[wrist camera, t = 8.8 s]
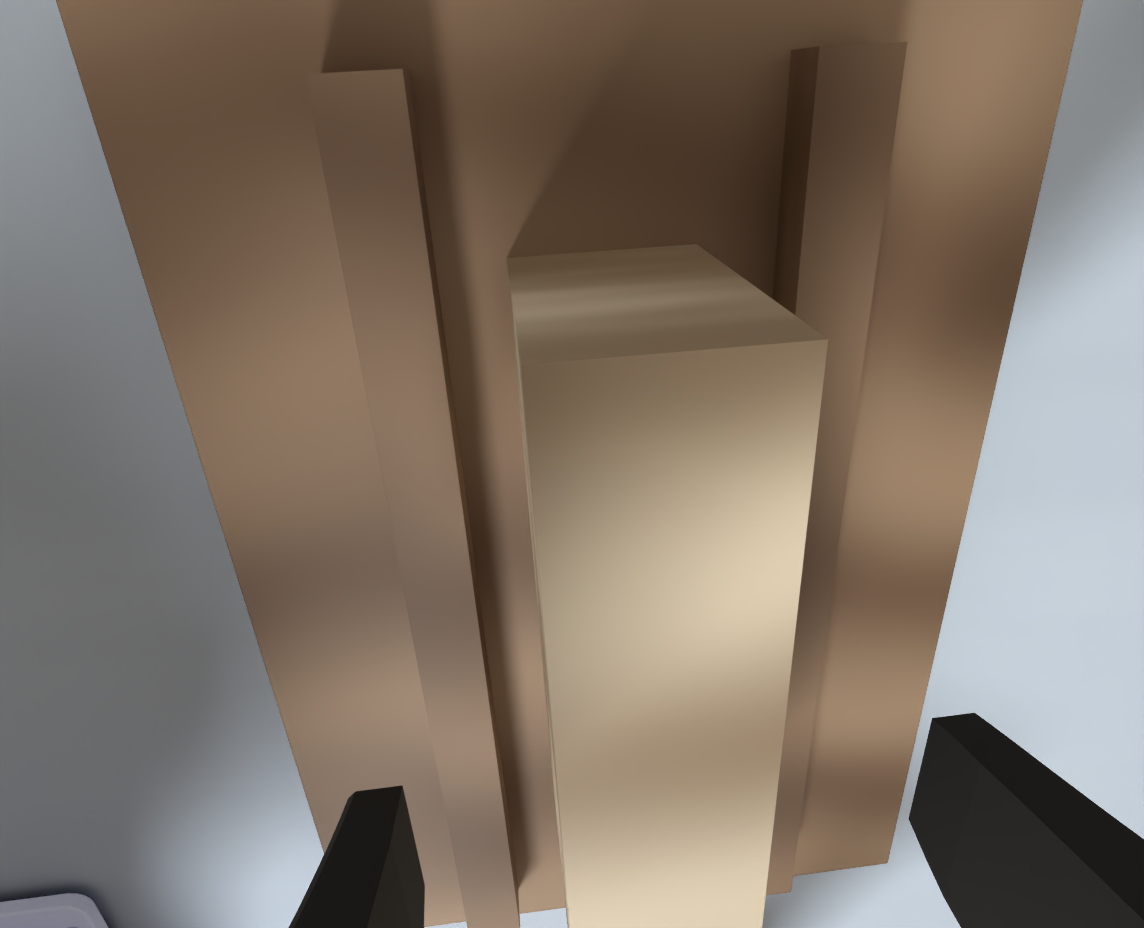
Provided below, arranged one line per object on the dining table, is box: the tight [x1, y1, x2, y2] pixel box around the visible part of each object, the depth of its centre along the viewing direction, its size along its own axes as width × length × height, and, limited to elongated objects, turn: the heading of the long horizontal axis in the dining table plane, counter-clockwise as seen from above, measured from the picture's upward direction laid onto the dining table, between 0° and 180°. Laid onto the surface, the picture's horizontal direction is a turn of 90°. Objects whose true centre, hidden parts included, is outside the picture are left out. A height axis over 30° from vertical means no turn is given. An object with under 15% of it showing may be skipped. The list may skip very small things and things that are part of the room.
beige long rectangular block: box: [506, 244, 828, 928], centre depth 12 cm, size 12×3×5 cm, turn 3°
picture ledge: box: [56, 0, 1083, 928], centre depth 14 cm, size 20×14×2 cm
